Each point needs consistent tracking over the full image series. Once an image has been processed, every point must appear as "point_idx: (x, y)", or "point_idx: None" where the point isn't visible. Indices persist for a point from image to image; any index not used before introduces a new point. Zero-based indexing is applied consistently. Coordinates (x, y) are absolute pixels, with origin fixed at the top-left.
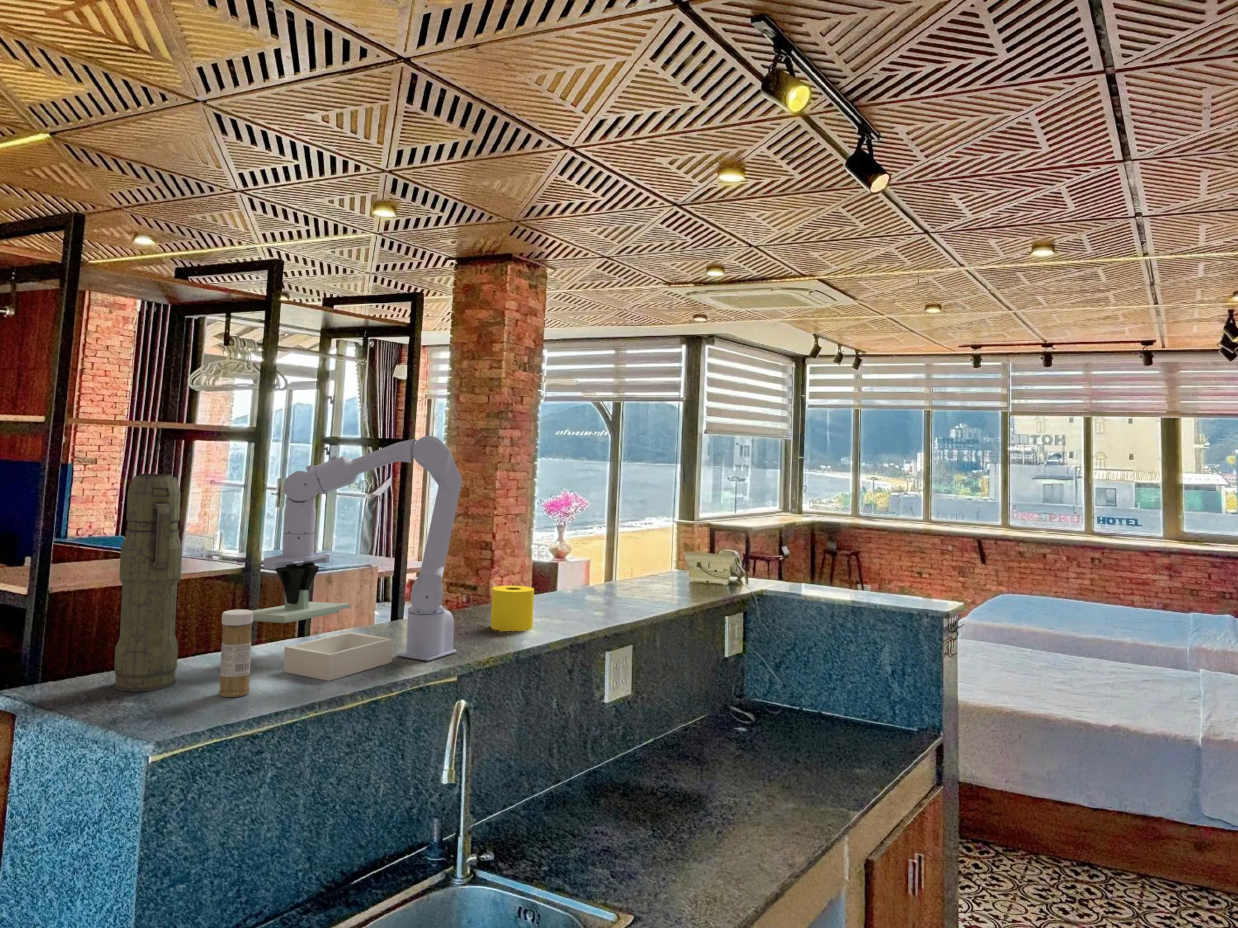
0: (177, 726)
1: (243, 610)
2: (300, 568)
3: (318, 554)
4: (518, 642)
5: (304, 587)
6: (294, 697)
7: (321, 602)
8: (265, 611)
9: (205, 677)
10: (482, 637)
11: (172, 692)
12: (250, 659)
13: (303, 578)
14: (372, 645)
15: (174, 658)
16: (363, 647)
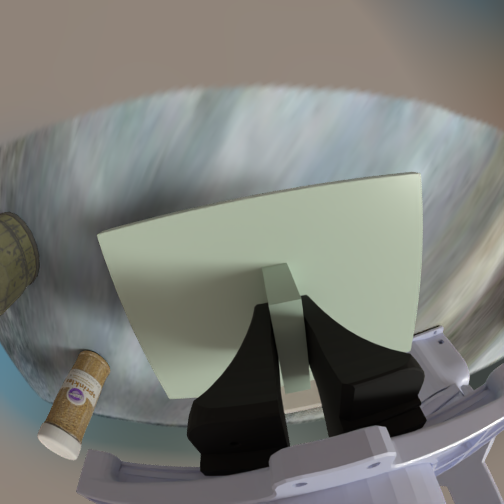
0: (49, 390)
1: (63, 451)
2: (337, 432)
3: (459, 458)
4: (486, 352)
5: (315, 377)
6: (150, 407)
7: (417, 250)
8: (169, 286)
9: (74, 269)
10: (501, 312)
11: (37, 307)
12: (95, 405)
13: (324, 403)
14: (309, 407)
15: (15, 299)
16: (288, 411)
